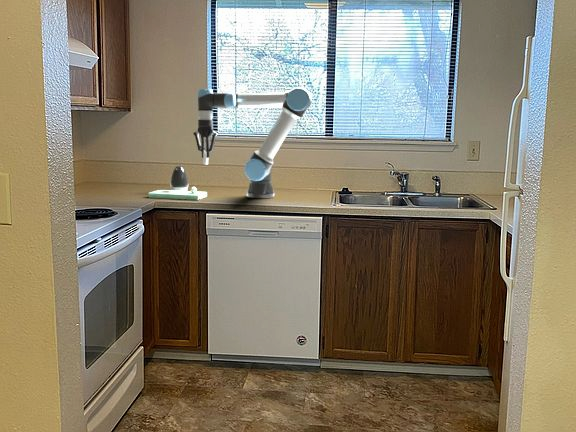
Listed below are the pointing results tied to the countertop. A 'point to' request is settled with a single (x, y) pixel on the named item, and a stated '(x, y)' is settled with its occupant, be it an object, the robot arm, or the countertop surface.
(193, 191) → the ball
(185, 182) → the dark grey egg shape
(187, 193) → the green
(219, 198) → the countertop surface
